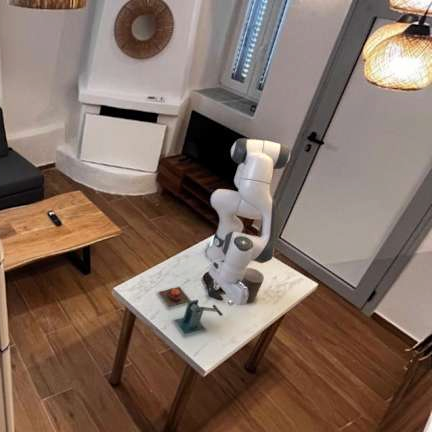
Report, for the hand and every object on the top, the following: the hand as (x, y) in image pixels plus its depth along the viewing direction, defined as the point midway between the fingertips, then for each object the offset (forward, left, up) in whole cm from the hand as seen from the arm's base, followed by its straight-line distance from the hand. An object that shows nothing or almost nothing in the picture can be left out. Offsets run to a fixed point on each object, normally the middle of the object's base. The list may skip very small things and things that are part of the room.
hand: (222, 296), depth 168 cm
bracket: (+13, 0, -15) cm, 20 cm away
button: (+11, -16, -12) cm, 23 cm away
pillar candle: (-22, -8, -15) cm, 28 cm away
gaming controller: (-9, -13, -15) cm, 22 cm away
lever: (+7, 0, -7) cm, 10 cm away
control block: (+11, -16, -15) cm, 25 cm away
